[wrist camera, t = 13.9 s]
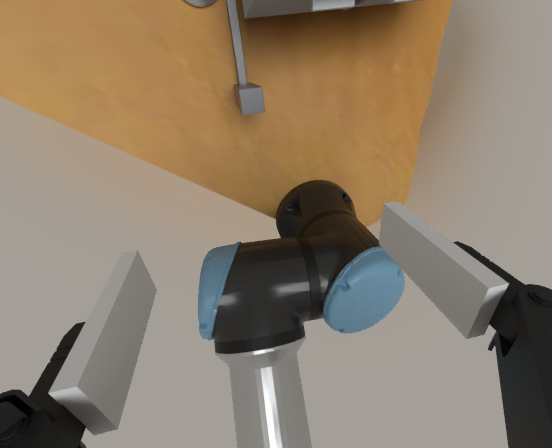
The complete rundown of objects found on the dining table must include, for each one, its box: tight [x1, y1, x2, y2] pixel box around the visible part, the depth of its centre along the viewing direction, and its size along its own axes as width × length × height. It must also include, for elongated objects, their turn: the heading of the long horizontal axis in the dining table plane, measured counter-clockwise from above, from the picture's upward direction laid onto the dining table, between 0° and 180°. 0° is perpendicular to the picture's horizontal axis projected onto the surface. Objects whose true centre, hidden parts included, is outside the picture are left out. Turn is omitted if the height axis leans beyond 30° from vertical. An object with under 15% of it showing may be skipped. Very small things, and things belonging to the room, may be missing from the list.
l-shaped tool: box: [226, 0, 265, 115], centre depth 29 cm, size 18×2×12 cm, turn 6°
